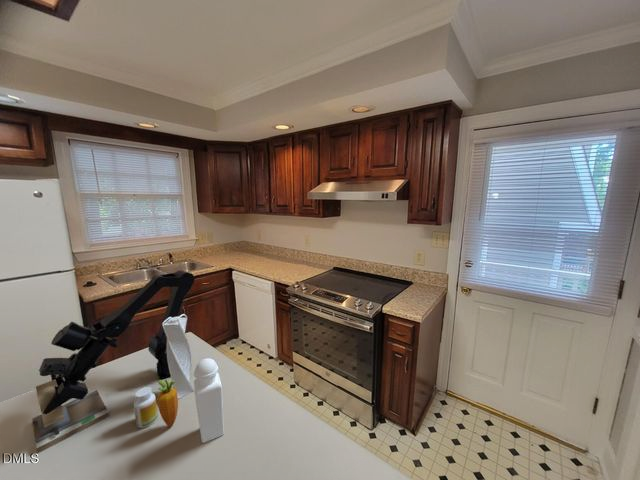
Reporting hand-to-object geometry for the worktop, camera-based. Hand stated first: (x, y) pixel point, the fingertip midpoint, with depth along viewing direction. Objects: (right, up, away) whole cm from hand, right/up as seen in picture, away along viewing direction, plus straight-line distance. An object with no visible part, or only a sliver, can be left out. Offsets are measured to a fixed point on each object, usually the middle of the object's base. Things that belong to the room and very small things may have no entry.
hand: (44, 409), depth 75 cm
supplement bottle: (+27, -6, +4) cm, 28 cm away
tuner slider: (+2, -5, +1) cm, 6 cm away
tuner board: (+3, -6, +4) cm, 8 cm away
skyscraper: (+31, -4, +16) cm, 35 cm away
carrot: (+35, -6, +2) cm, 35 cm away
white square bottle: (+48, -6, 0) cm, 48 cm away
